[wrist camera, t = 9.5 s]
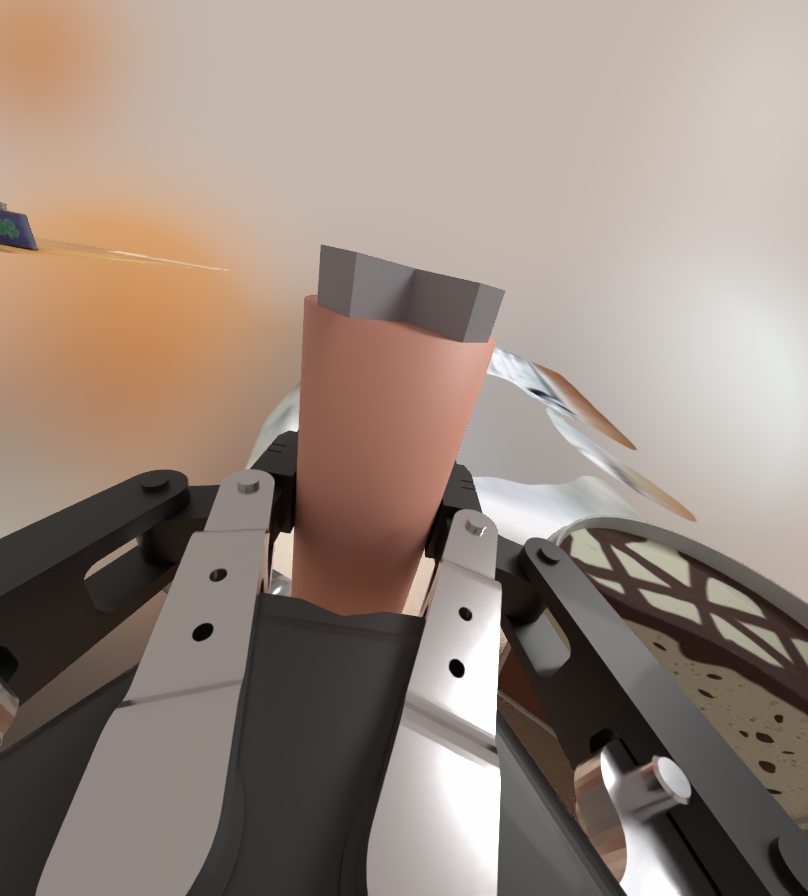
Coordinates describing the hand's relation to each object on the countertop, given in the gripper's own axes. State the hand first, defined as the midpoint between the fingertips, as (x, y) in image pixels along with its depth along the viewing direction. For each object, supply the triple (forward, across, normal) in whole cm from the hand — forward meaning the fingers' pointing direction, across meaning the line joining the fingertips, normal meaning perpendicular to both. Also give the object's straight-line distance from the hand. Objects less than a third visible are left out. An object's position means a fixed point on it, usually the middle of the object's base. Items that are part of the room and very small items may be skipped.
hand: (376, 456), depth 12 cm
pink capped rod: (-3, 0, +8) cm, 9 cm away
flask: (+94, +117, +11) cm, 151 cm away
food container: (-2, -14, +11) cm, 18 cm away
